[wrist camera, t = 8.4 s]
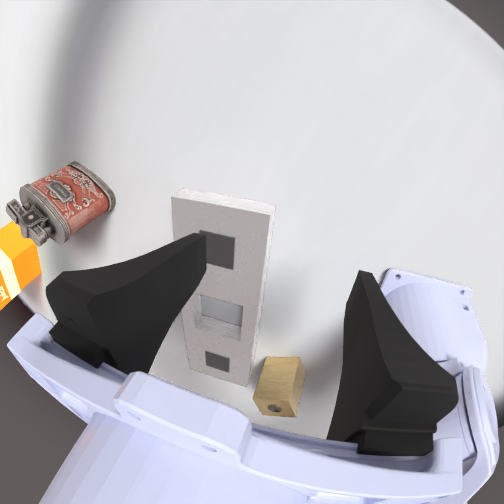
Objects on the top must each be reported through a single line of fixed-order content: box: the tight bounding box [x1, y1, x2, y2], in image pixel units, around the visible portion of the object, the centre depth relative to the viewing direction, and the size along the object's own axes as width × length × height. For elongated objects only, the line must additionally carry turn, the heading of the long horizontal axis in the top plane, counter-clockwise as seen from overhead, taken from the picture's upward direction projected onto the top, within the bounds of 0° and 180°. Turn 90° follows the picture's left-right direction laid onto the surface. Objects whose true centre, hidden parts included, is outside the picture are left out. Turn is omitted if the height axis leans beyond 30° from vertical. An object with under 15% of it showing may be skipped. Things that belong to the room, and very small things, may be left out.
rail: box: [171, 188, 276, 387], centre depth 28 cm, size 8×24×2 cm, turn 175°
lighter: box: [6, 161, 116, 247], centre depth 22 cm, size 8×3×10 cm, turn 57°
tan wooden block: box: [252, 357, 305, 417], centre depth 29 cm, size 4×4×6 cm
